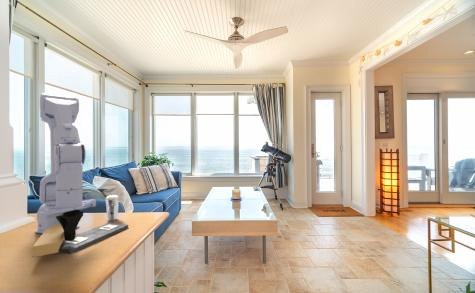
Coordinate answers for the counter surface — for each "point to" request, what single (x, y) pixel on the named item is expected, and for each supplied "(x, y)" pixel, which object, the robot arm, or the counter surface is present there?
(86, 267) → the counter surface
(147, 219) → the counter surface
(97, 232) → the panel
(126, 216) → the counter surface
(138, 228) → the counter surface
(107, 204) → the milkshake
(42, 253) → the light wooden plank
